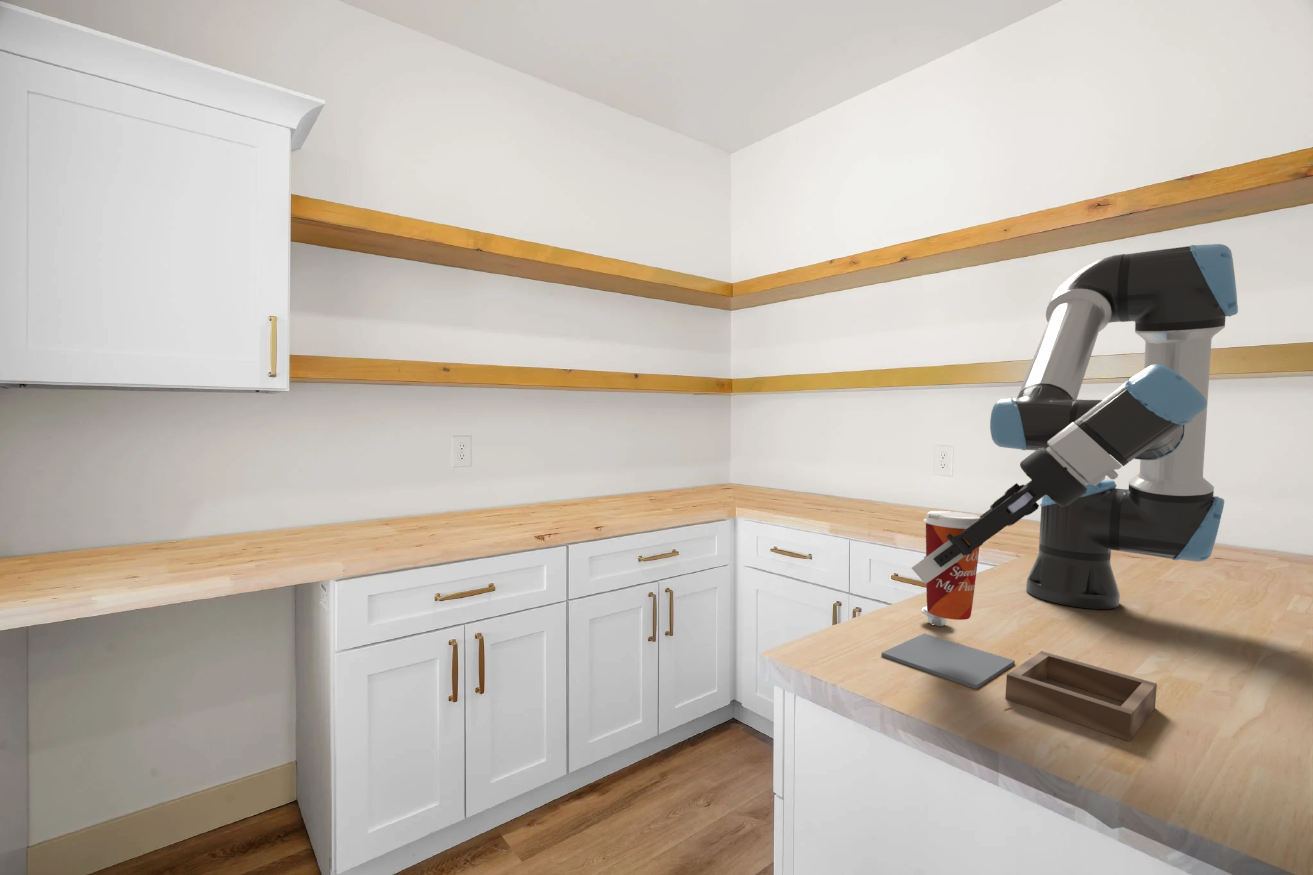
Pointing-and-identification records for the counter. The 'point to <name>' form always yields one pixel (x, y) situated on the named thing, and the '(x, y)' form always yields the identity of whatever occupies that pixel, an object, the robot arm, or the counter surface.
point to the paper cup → (951, 567)
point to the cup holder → (1080, 708)
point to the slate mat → (949, 660)
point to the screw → (934, 618)
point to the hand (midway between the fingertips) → (925, 569)
